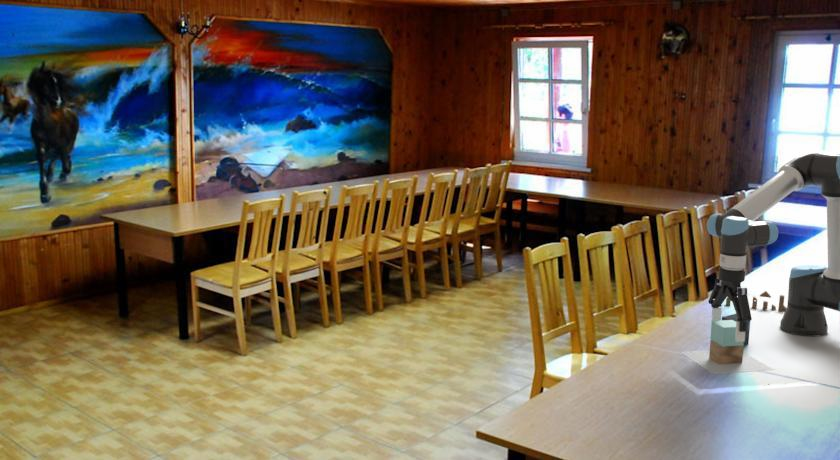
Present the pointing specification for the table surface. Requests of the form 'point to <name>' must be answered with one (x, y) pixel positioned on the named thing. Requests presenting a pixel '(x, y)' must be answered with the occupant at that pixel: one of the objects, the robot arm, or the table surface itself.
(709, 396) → the table surface
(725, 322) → the teal brick
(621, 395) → the table surface
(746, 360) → the board
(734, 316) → the box
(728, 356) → the base brick
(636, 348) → the table surface
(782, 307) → the wooden blocks
